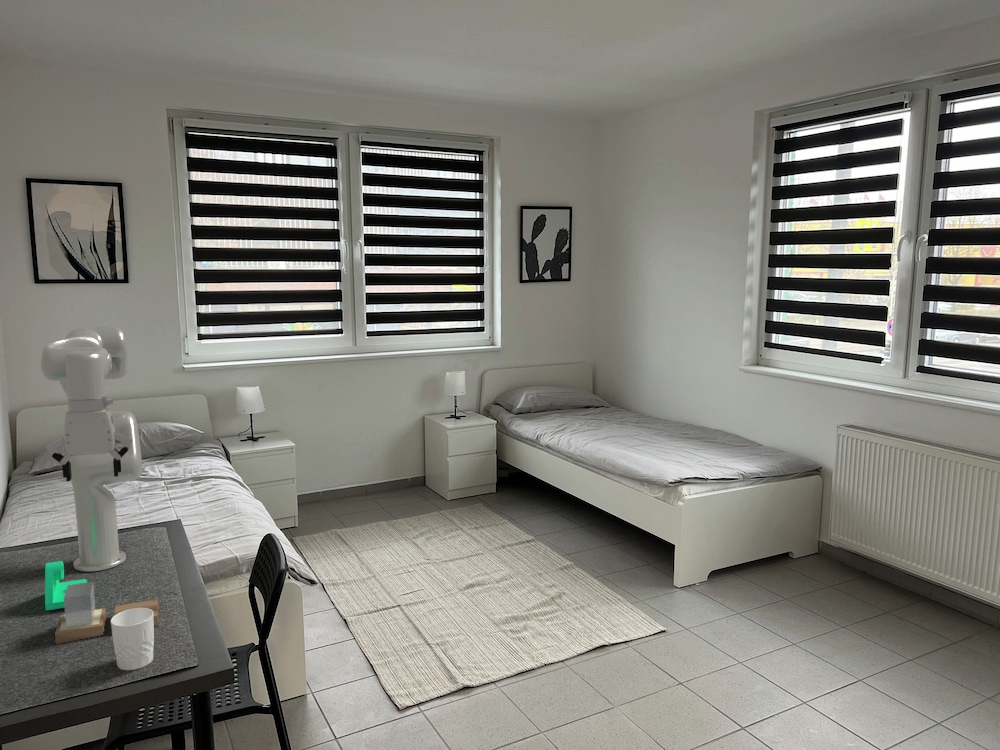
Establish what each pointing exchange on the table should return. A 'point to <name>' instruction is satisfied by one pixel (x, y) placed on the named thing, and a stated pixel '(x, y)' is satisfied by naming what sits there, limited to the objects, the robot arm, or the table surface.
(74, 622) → the block
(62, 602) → the camera mount
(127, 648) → the white cup
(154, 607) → the stand
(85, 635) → the stand
